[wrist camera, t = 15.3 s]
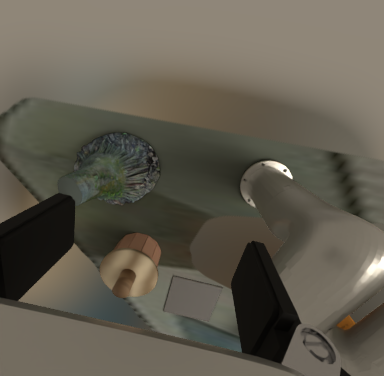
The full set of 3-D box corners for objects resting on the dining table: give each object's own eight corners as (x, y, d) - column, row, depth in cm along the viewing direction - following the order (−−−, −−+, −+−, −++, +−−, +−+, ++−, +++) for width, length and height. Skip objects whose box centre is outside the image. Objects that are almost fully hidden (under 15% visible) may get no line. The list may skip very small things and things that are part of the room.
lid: (163, 256, 48) (157, 275, 42) (152, 298, 53) (146, 320, 48) (104, 241, 48) (90, 259, 42) (99, 285, 53) (87, 306, 47)
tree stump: (166, 198, 52) (128, 240, 36) (106, 195, 58) (51, 230, 42) (155, 128, 45) (102, 143, 29) (88, 133, 51) (14, 147, 35)
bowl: (164, 239, 56) (158, 258, 48) (156, 272, 60) (149, 294, 53) (120, 228, 55) (107, 245, 48) (115, 263, 60) (103, 283, 52)
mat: (222, 287, 61) (222, 288, 61) (208, 320, 67) (208, 321, 66) (173, 275, 60) (173, 276, 60) (163, 310, 66) (163, 311, 66)
